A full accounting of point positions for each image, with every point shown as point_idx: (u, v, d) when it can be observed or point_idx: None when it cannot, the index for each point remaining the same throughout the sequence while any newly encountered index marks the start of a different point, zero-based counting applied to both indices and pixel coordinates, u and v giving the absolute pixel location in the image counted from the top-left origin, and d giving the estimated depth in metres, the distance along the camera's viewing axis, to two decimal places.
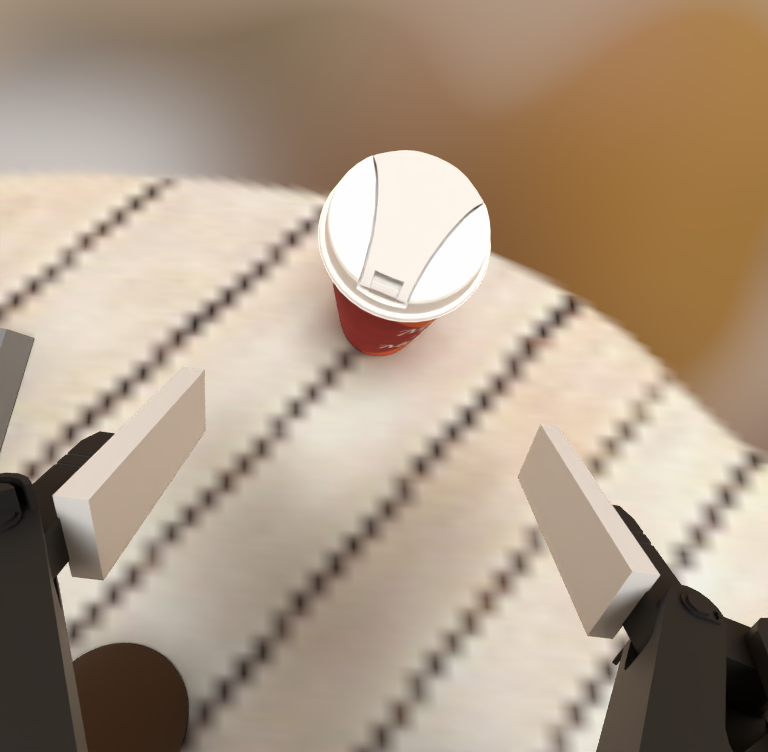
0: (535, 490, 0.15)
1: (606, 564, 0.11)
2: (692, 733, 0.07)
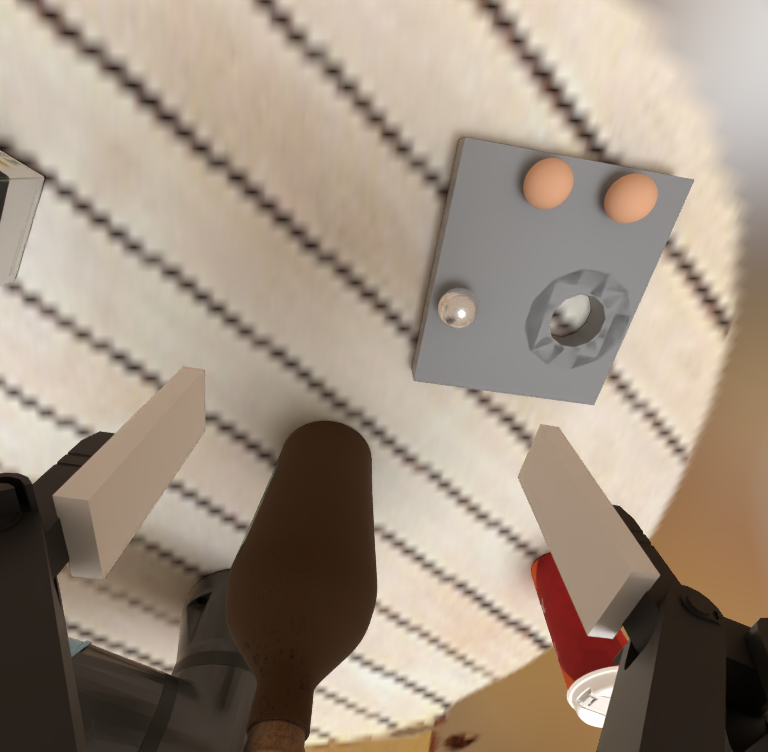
0: (535, 490, 0.15)
1: (606, 564, 0.11)
2: (692, 733, 0.07)
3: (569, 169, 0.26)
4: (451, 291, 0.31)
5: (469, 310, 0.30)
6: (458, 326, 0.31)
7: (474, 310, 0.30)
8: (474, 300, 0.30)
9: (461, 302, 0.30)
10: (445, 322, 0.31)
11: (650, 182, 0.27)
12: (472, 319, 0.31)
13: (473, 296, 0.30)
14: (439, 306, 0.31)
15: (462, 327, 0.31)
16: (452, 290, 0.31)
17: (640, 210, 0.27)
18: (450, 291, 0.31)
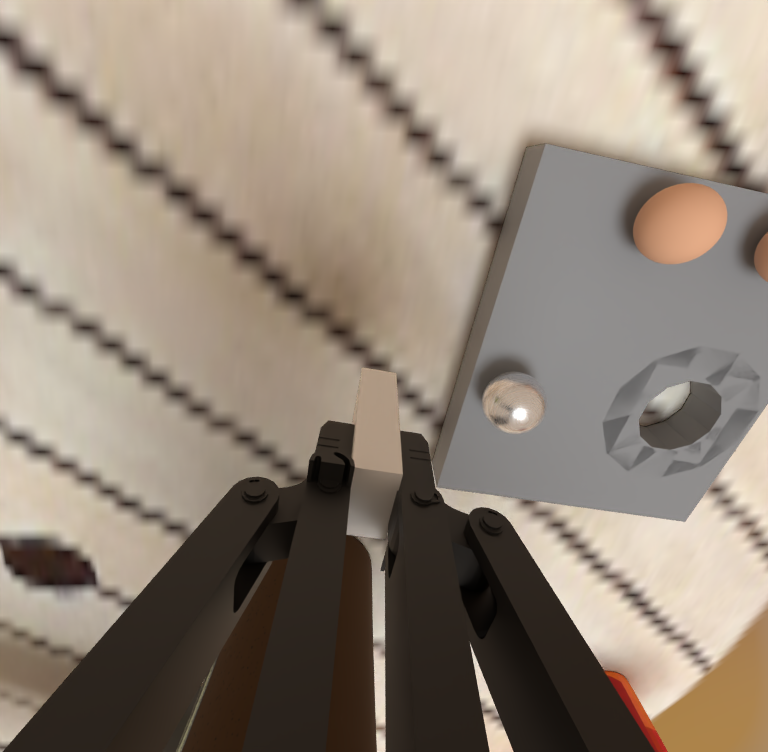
0: None
1: None
2: (441, 612, 0.08)
3: (724, 204, 0.16)
4: (505, 379, 0.20)
5: (535, 412, 0.19)
6: (514, 432, 0.20)
7: (541, 412, 0.20)
8: (542, 395, 0.20)
9: (524, 400, 0.19)
10: (494, 424, 0.20)
11: None
12: (537, 424, 0.20)
13: (540, 389, 0.20)
14: (486, 400, 0.20)
15: (520, 433, 0.20)
16: (507, 378, 0.20)
17: None
18: (504, 379, 0.20)
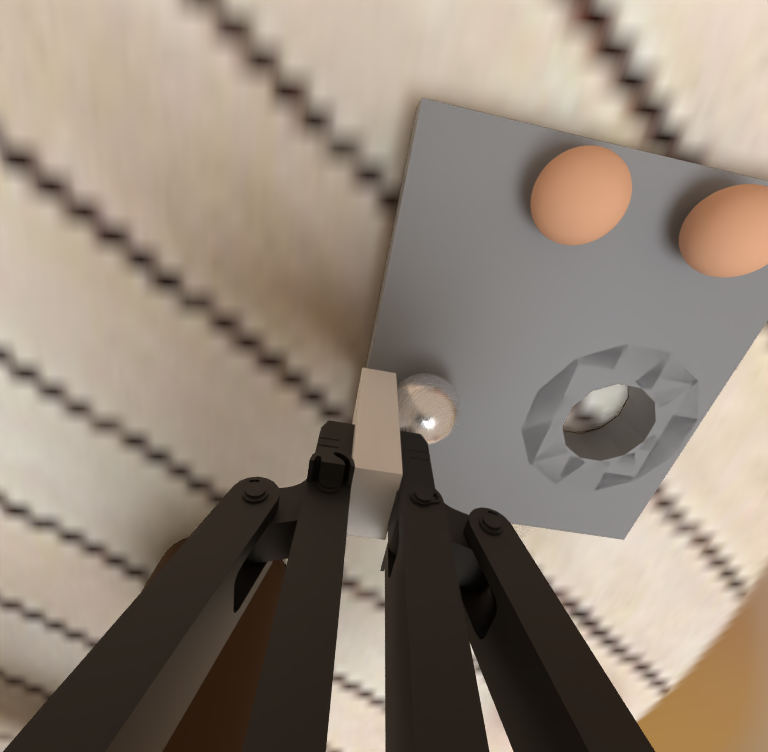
0: None
1: None
2: (441, 612, 0.08)
3: (626, 170, 0.13)
4: (415, 385, 0.17)
5: (452, 419, 0.17)
6: (431, 443, 0.18)
7: (458, 416, 0.17)
8: (456, 396, 0.17)
9: (440, 408, 0.17)
10: None
11: None
12: None
13: (452, 390, 0.17)
14: None
15: (436, 442, 0.18)
16: (416, 384, 0.17)
17: (759, 257, 0.14)
18: (413, 386, 0.17)
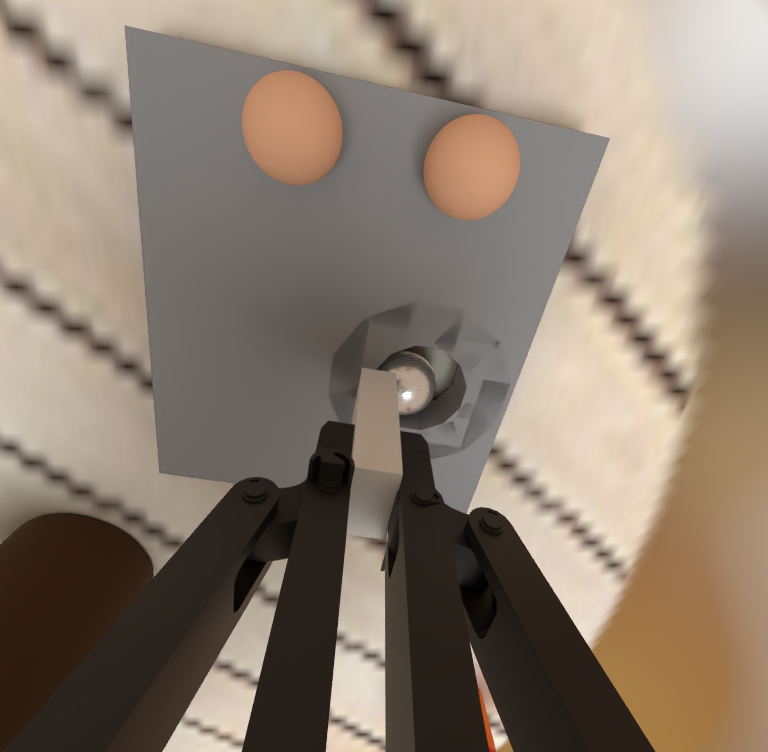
0: None
1: None
2: (441, 612, 0.08)
3: (315, 94, 0.12)
4: (390, 366, 0.19)
5: (423, 396, 0.19)
6: (408, 414, 0.20)
7: (430, 393, 0.19)
8: (429, 375, 0.19)
9: (410, 388, 0.19)
10: None
11: (497, 132, 0.12)
12: (428, 402, 0.20)
13: (426, 369, 0.19)
14: None
15: None
16: (392, 364, 0.19)
17: (478, 191, 0.13)
18: (389, 366, 0.19)
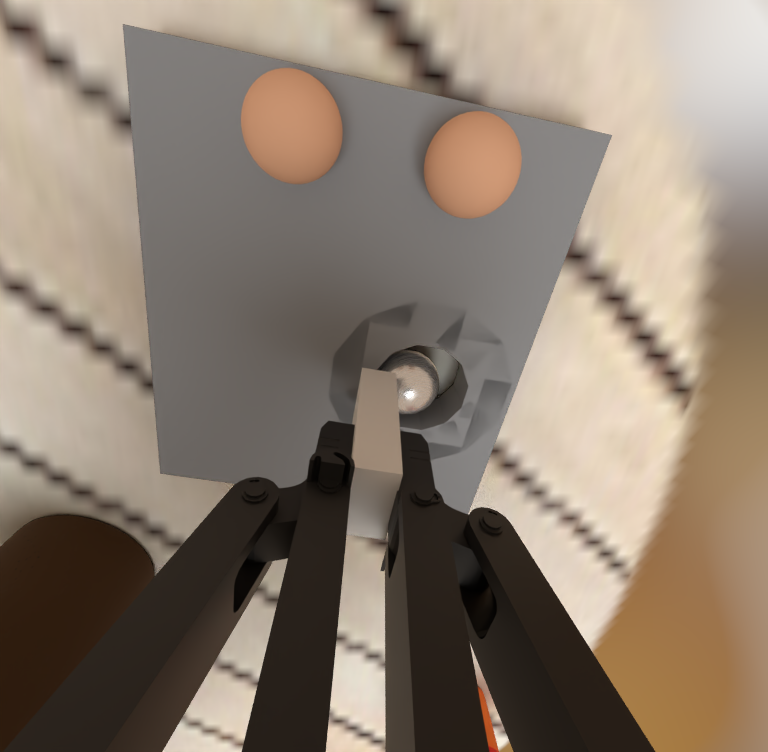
0: None
1: None
2: (441, 612, 0.08)
3: (314, 92, 0.12)
4: (394, 364, 0.19)
5: (428, 394, 0.19)
6: (412, 413, 0.20)
7: (434, 391, 0.19)
8: (433, 373, 0.19)
9: (415, 386, 0.19)
10: None
11: (498, 129, 0.12)
12: (432, 400, 0.20)
13: (429, 367, 0.19)
14: None
15: None
16: (395, 363, 0.19)
17: (479, 189, 0.13)
18: (393, 365, 0.19)
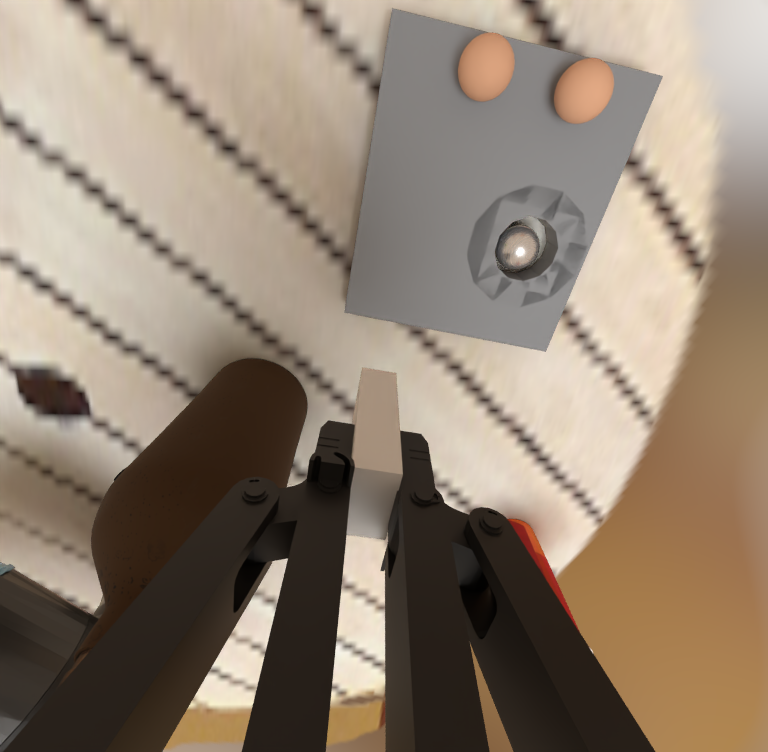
0: None
1: None
2: (441, 612, 0.08)
3: (507, 45, 0.22)
4: (514, 231, 0.29)
5: (535, 250, 0.30)
6: (521, 267, 0.31)
7: (538, 249, 0.30)
8: (537, 237, 0.30)
9: (529, 243, 0.29)
10: (508, 264, 0.30)
11: (604, 67, 0.23)
12: None
13: (535, 234, 0.30)
14: (502, 249, 0.30)
15: (524, 267, 0.31)
16: (514, 230, 0.29)
17: (591, 101, 0.23)
18: (513, 231, 0.29)
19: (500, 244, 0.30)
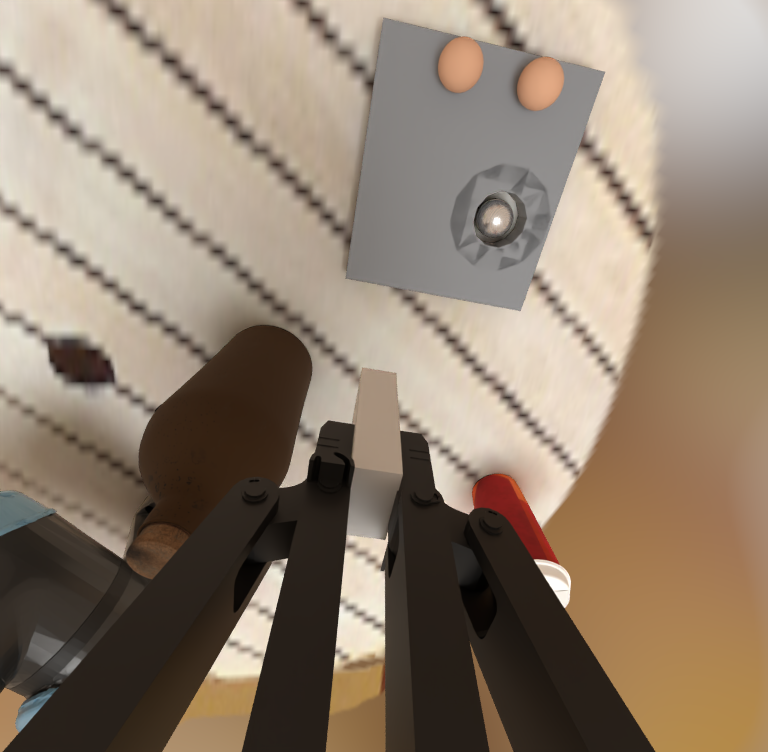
0: None
1: None
2: (441, 612, 0.08)
3: (477, 46, 0.28)
4: (491, 203, 0.35)
5: (510, 218, 0.35)
6: (499, 234, 0.36)
7: (512, 218, 0.35)
8: None
9: (505, 212, 0.34)
10: (488, 232, 0.36)
11: (555, 63, 0.28)
12: (510, 226, 0.36)
13: (509, 205, 0.35)
14: (482, 218, 0.35)
15: None
16: (492, 202, 0.35)
17: (546, 91, 0.28)
18: (491, 203, 0.35)
19: (481, 215, 0.35)
